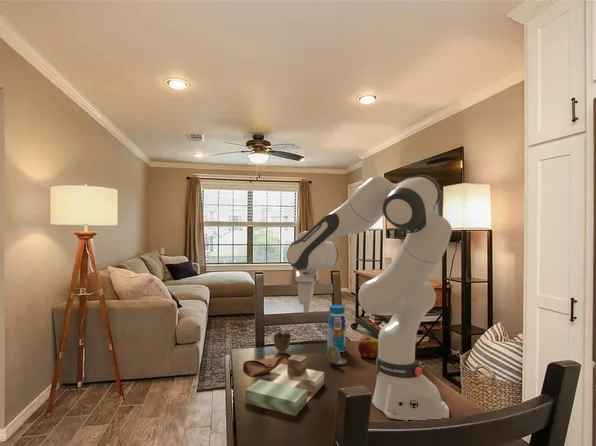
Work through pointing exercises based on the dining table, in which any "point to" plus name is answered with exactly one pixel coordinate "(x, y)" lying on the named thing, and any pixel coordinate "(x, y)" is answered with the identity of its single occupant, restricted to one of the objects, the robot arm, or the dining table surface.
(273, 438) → the dining table surface
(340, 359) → the pocket watch
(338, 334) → the blue labeled canister
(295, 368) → the walnut block
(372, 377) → the dining table surface
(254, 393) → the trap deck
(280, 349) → the cup
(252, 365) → the sunglasses case
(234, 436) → the dining table surface
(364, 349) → the fruit
